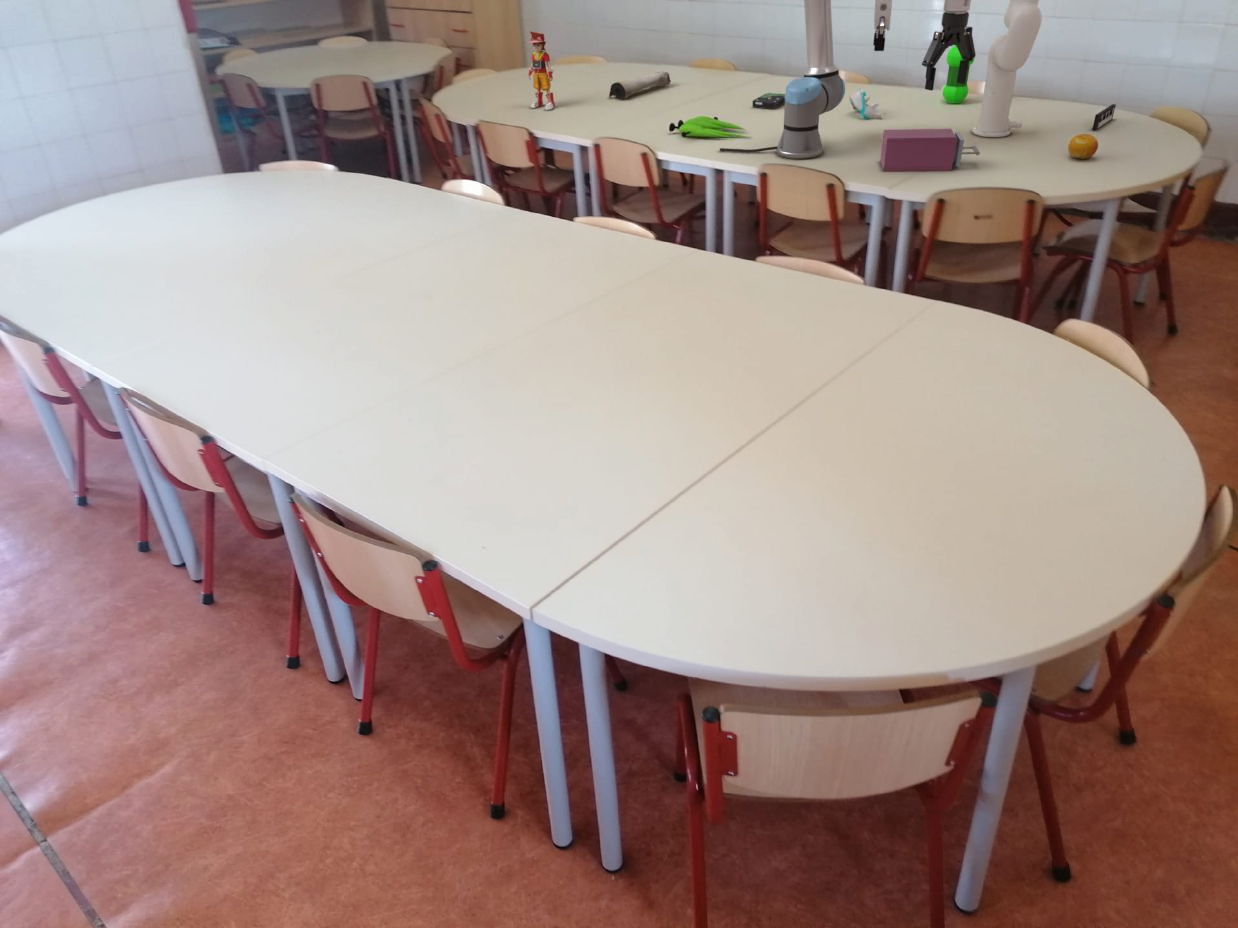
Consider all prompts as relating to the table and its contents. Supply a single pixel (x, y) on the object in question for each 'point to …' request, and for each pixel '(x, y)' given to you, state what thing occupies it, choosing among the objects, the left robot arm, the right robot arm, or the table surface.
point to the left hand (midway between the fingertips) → (944, 86)
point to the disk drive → (769, 100)
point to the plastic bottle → (955, 78)
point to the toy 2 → (705, 127)
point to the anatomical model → (864, 105)
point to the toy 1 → (541, 71)
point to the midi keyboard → (1103, 116)
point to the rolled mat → (638, 84)
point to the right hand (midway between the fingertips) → (878, 48)
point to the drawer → (960, 147)
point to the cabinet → (917, 149)
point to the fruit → (1082, 146)
